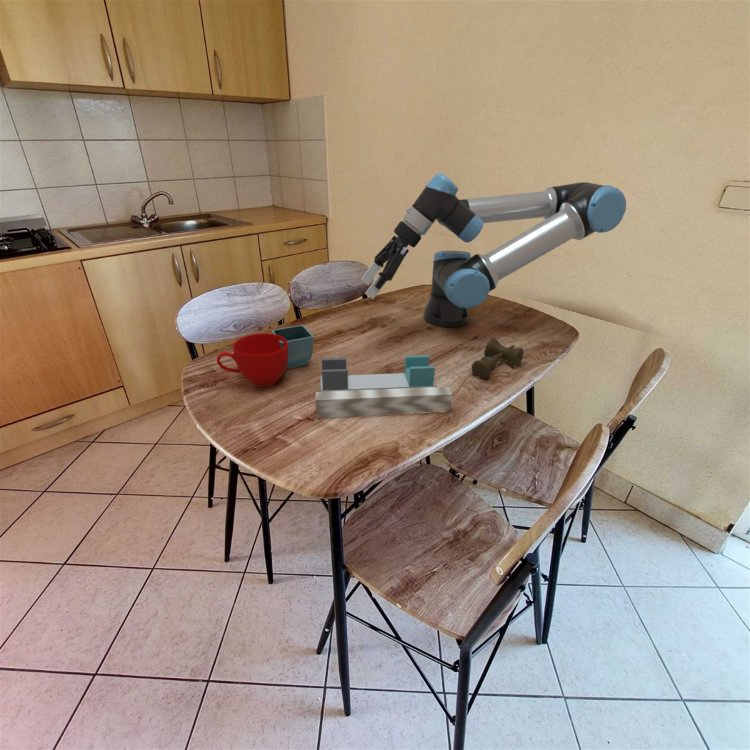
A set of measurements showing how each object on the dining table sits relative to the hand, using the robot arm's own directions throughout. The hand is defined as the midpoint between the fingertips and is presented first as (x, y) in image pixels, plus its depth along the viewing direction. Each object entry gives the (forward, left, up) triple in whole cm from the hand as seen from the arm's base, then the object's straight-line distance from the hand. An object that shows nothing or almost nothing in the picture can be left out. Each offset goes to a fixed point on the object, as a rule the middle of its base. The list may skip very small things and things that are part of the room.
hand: (366, 289), depth 127 cm
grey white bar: (0, +42, -16) cm, 44 cm away
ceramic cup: (+30, +26, -16) cm, 42 cm away
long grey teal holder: (0, +30, -15) cm, 33 cm away
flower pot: (+21, +17, -15) cm, 31 cm away
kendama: (-34, +22, -16) cm, 43 cm away
